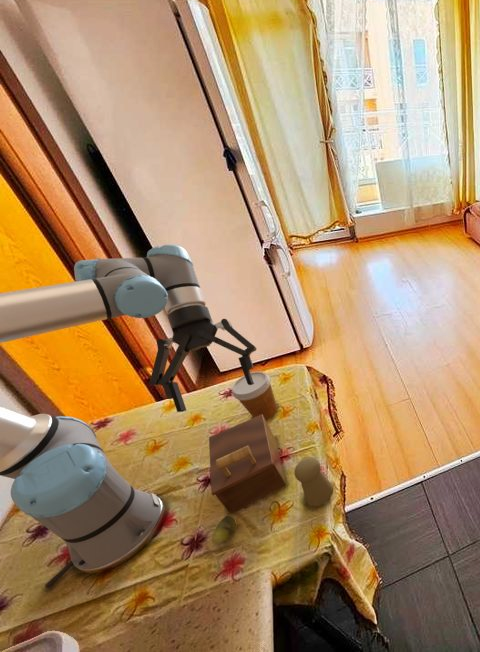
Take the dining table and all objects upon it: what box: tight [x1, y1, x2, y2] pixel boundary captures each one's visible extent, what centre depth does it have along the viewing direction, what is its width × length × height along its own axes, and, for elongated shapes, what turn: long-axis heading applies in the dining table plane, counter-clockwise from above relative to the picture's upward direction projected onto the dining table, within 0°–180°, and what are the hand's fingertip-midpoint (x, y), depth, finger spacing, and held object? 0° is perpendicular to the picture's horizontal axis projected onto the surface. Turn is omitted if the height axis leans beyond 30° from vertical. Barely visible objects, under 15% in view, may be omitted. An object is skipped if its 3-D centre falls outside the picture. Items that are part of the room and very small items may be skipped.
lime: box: [211, 515, 238, 545], centre depth 75 cm, size 4×5×5 cm
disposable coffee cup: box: [231, 371, 278, 421], centre depth 102 cm, size 10×10×12 cm
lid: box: [208, 414, 274, 496], centre depth 82 cm, size 17×12×6 cm
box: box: [215, 418, 287, 515], centre depth 86 cm, size 16×12×9 cm
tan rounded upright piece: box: [294, 456, 334, 507], centre depth 80 cm, size 6×6×11 cm
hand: (217, 397), depth 80 cm, fingers open, 13 cm apart
